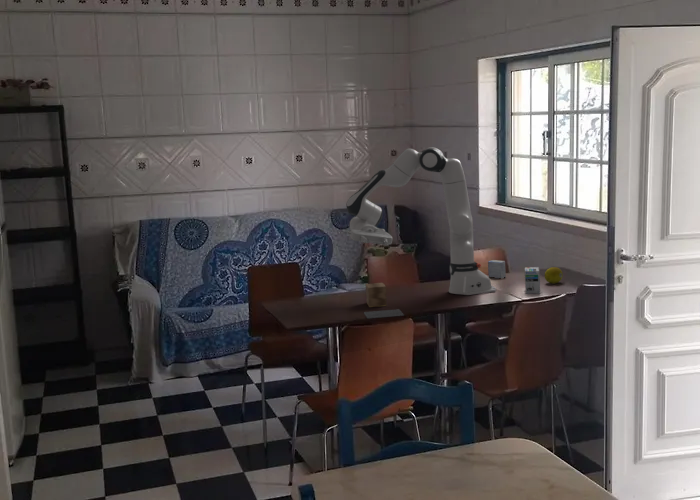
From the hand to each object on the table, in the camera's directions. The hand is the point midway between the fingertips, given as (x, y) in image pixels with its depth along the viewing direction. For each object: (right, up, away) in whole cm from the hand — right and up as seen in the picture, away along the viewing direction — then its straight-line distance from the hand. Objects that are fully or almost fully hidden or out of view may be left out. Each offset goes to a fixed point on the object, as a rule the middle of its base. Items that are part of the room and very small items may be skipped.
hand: (376, 242), depth 359 cm
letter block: (0, -28, -1) cm, 29 cm away
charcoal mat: (+2, -31, -21) cm, 37 cm away
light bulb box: (+73, -23, +7) cm, 77 cm away
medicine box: (+64, -18, +45) cm, 80 cm away
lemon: (+88, -20, +22) cm, 93 cm away
